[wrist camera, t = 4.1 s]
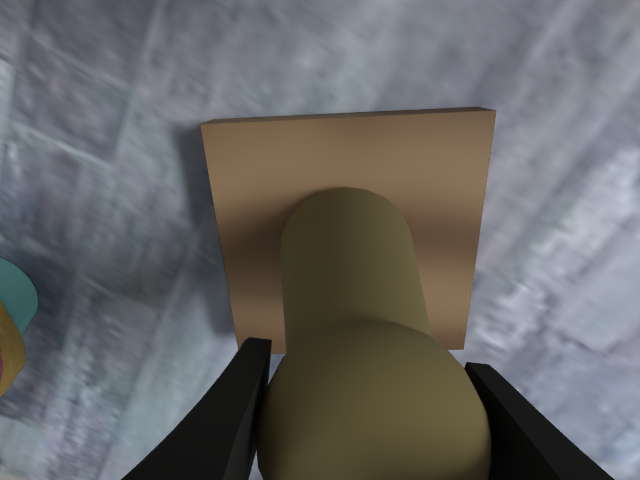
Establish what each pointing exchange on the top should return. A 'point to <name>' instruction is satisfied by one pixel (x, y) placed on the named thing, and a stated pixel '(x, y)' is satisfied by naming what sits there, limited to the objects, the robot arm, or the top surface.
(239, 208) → the walnut board
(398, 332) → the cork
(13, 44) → the top surface
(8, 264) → the cupcake
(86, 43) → the top surface
